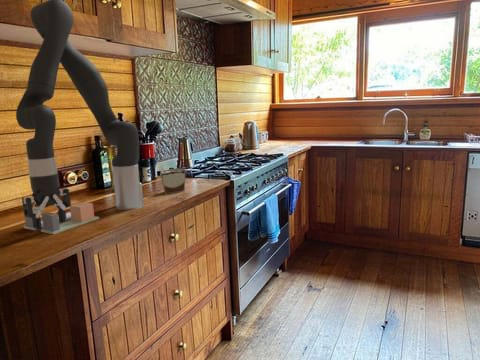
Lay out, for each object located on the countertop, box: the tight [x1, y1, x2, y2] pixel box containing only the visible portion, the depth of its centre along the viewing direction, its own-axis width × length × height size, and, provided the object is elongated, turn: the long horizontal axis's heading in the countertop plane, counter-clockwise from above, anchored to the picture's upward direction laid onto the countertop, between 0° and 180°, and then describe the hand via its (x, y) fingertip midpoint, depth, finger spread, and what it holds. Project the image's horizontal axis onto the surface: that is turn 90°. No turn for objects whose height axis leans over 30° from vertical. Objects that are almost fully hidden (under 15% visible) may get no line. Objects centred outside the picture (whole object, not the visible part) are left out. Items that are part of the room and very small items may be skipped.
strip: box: [23, 211, 72, 231], centre depth 123 cm, size 17×6×6 cm, turn 152°
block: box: [69, 202, 95, 222], centre depth 123 cm, size 5×5×5 cm
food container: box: [159, 168, 187, 195], centre depth 168 cm, size 12×6×10 cm, turn 123°
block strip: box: [40, 212, 100, 235], centre depth 119 cm, size 17×6×6 cm, turn 152°
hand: (50, 225), depth 113 cm, fingers open, 7 cm apart
